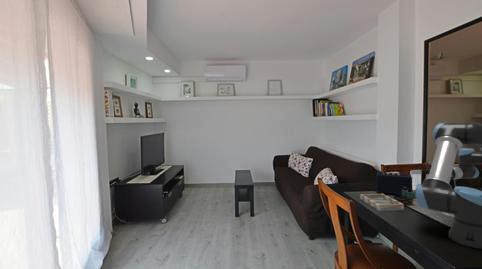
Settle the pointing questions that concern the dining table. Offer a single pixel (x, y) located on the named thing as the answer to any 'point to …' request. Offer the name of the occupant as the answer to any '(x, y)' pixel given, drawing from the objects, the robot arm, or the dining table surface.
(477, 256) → the dining table surface
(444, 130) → the robot arm
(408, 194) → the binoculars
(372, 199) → the tray
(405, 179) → the speaker
